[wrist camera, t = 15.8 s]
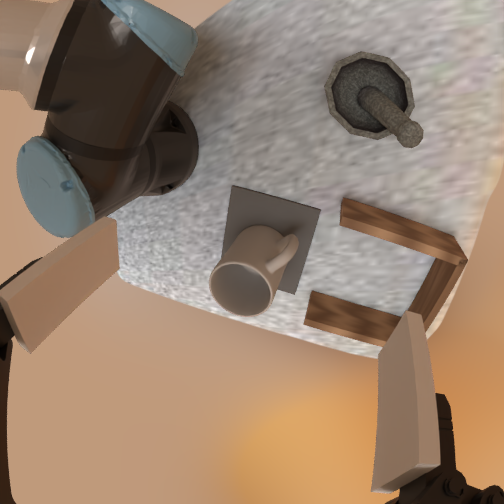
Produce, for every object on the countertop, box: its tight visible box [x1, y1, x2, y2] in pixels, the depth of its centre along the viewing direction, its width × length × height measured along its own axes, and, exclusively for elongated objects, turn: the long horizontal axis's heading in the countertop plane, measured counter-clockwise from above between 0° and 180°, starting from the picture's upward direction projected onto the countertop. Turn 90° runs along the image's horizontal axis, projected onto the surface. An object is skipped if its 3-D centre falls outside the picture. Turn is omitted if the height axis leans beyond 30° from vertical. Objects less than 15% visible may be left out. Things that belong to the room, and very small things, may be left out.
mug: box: [209, 225, 299, 317], centre depth 42 cm, size 12×8×11 cm
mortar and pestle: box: [324, 52, 423, 148], centre depth 28 cm, size 11×9×12 cm
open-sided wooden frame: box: [304, 197, 468, 347], centre depth 40 cm, size 18×17×7 cm
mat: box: [221, 186, 321, 295], centre depth 47 cm, size 13×15×1 cm
